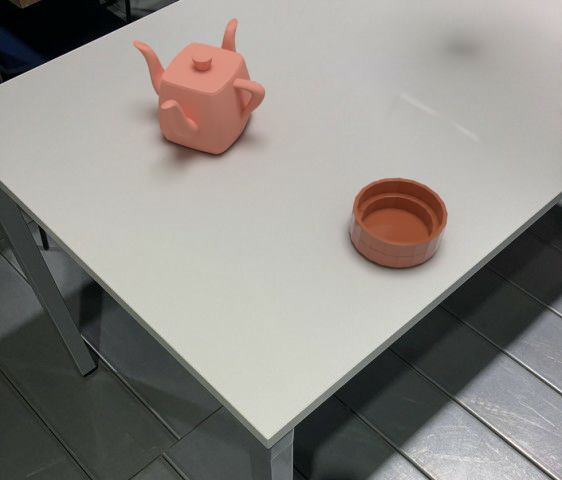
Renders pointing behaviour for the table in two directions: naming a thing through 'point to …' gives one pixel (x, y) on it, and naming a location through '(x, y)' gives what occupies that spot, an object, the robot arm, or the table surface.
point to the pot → (204, 93)
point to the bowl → (397, 222)
